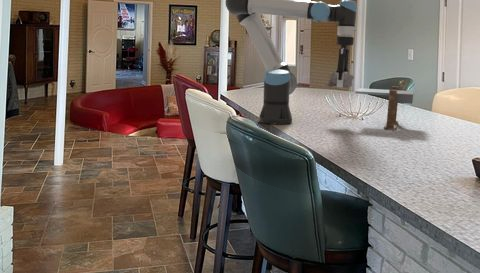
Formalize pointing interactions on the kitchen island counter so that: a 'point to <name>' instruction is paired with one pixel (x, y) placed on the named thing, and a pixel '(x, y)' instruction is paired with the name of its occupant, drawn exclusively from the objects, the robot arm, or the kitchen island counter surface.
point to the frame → (392, 110)
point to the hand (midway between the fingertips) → (341, 86)
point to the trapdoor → (401, 95)
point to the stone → (346, 81)
